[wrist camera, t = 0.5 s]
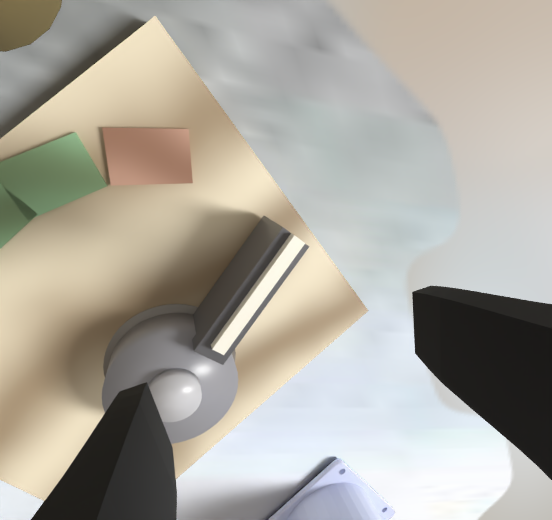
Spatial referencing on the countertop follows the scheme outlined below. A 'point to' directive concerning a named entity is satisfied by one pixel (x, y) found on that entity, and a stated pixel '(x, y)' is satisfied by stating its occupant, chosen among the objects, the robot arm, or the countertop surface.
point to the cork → (25, 21)
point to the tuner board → (135, 251)
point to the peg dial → (204, 338)
